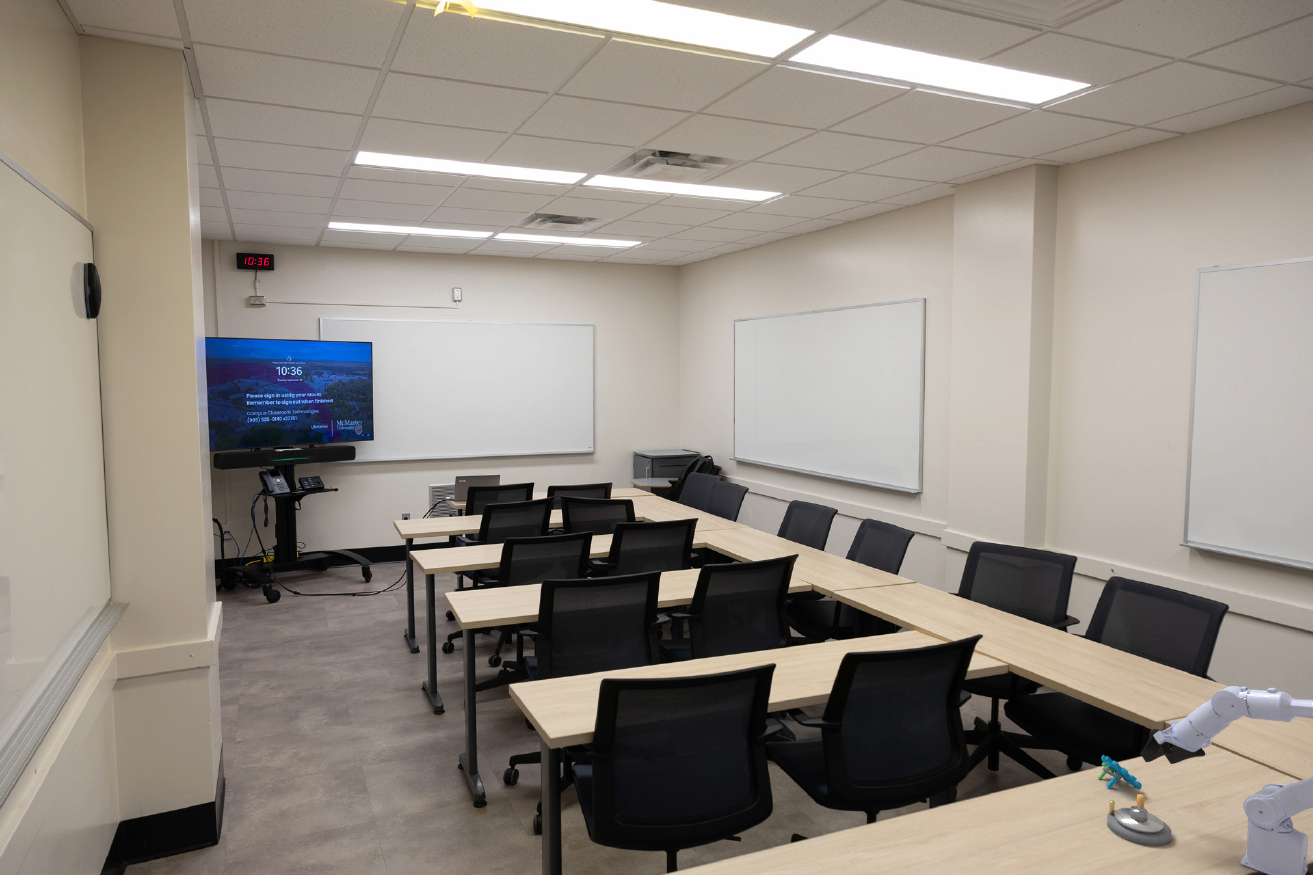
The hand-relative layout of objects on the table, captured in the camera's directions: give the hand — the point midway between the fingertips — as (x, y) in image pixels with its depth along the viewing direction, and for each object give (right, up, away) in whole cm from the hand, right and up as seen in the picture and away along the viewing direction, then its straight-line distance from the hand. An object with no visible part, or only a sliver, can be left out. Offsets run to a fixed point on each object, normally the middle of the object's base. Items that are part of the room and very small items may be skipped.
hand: (1156, 758), depth 175 cm
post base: (-6, -14, -4) cm, 16 cm away
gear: (+1, -13, +16) cm, 21 cm away
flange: (-6, -12, -3) cm, 14 cm away
